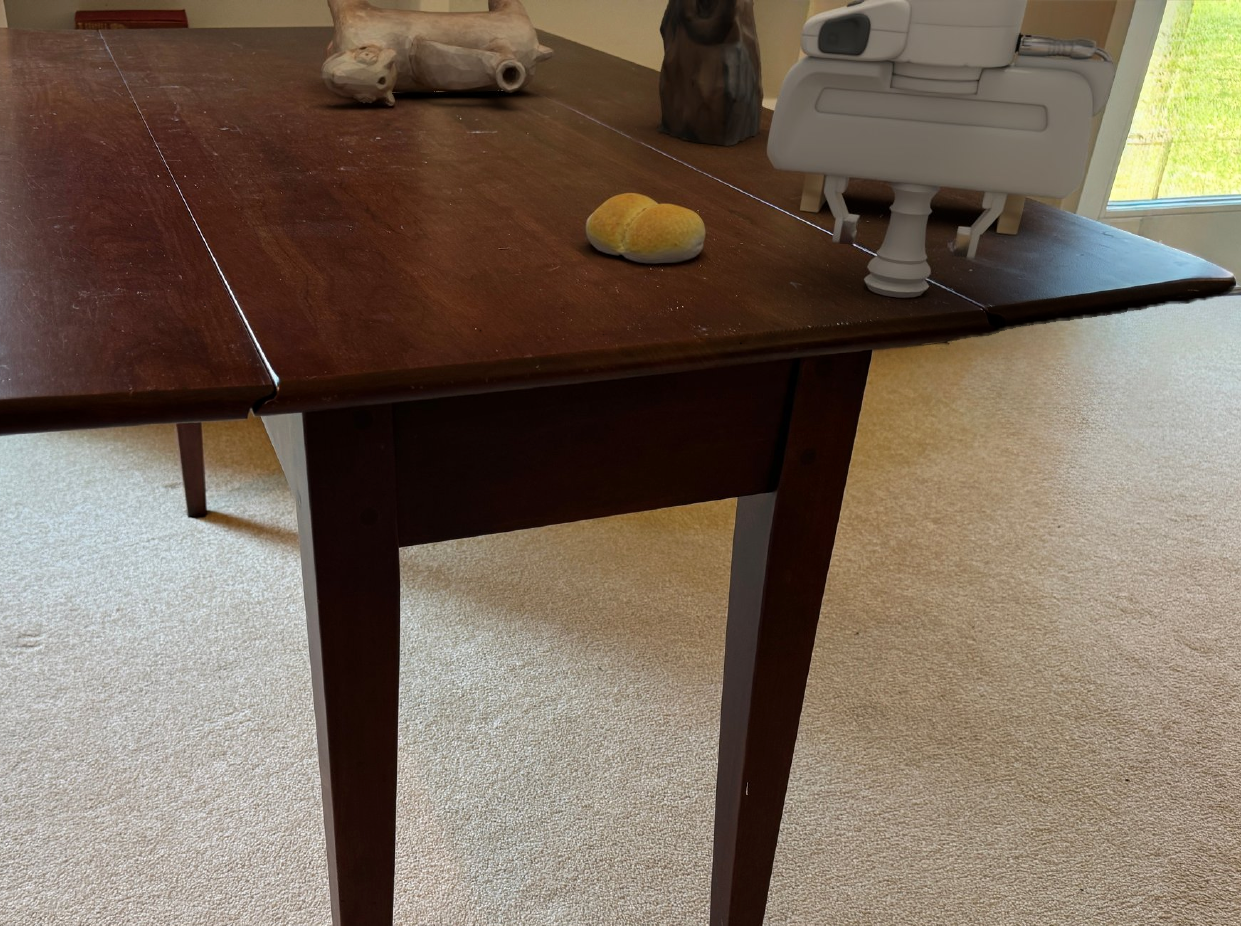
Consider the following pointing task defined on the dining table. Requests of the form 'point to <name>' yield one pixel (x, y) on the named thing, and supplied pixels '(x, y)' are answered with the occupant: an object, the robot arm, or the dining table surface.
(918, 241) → the rook chess piece
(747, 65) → the owl
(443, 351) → the dining table surface
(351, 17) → the ceramic vessel
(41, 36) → the dining table surface
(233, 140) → the dining table surface
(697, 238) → the bread roll
